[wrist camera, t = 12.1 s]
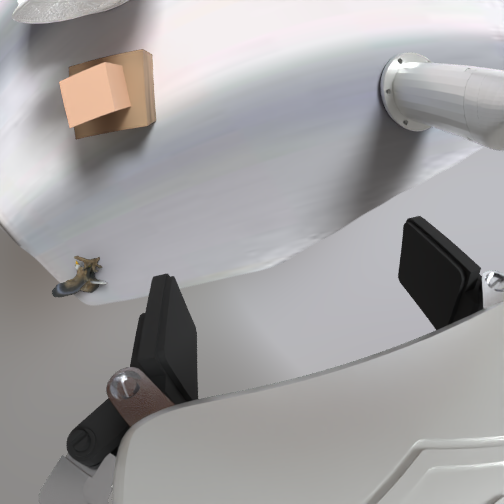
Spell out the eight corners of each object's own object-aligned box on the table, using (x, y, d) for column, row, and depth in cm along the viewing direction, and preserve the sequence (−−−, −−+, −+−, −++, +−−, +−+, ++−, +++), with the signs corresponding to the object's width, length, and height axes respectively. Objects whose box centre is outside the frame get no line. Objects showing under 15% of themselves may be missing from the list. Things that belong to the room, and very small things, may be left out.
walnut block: (152, 54, 30) (142, 49, 25) (156, 120, 34) (147, 125, 29) (87, 68, 29) (68, 67, 24) (93, 131, 33) (75, 139, 28)
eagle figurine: (69, 239, 39) (46, 280, 40) (79, 270, 36) (55, 313, 37) (106, 252, 46) (81, 289, 47) (120, 281, 42) (93, 319, 44)
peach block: (122, 65, 25) (104, 62, 20) (131, 106, 28) (115, 110, 23) (82, 81, 25) (59, 81, 20) (91, 120, 28) (69, 128, 23)
